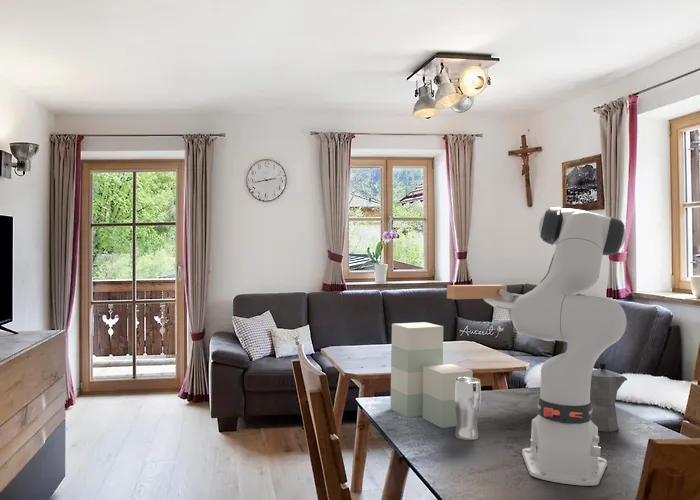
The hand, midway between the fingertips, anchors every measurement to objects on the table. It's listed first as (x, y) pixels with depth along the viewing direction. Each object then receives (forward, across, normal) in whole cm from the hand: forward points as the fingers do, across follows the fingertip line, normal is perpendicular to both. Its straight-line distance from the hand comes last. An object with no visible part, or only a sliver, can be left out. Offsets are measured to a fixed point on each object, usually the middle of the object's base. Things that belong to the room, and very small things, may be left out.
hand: (493, 290), depth 187 cm
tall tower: (+5, -2, +45) cm, 45 cm away
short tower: (+3, +10, +44) cm, 45 cm away
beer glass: (+5, +24, +45) cm, 51 cm away
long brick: (+4, 0, +5) cm, 7 cm away
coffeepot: (-30, +30, +25) cm, 49 cm away
